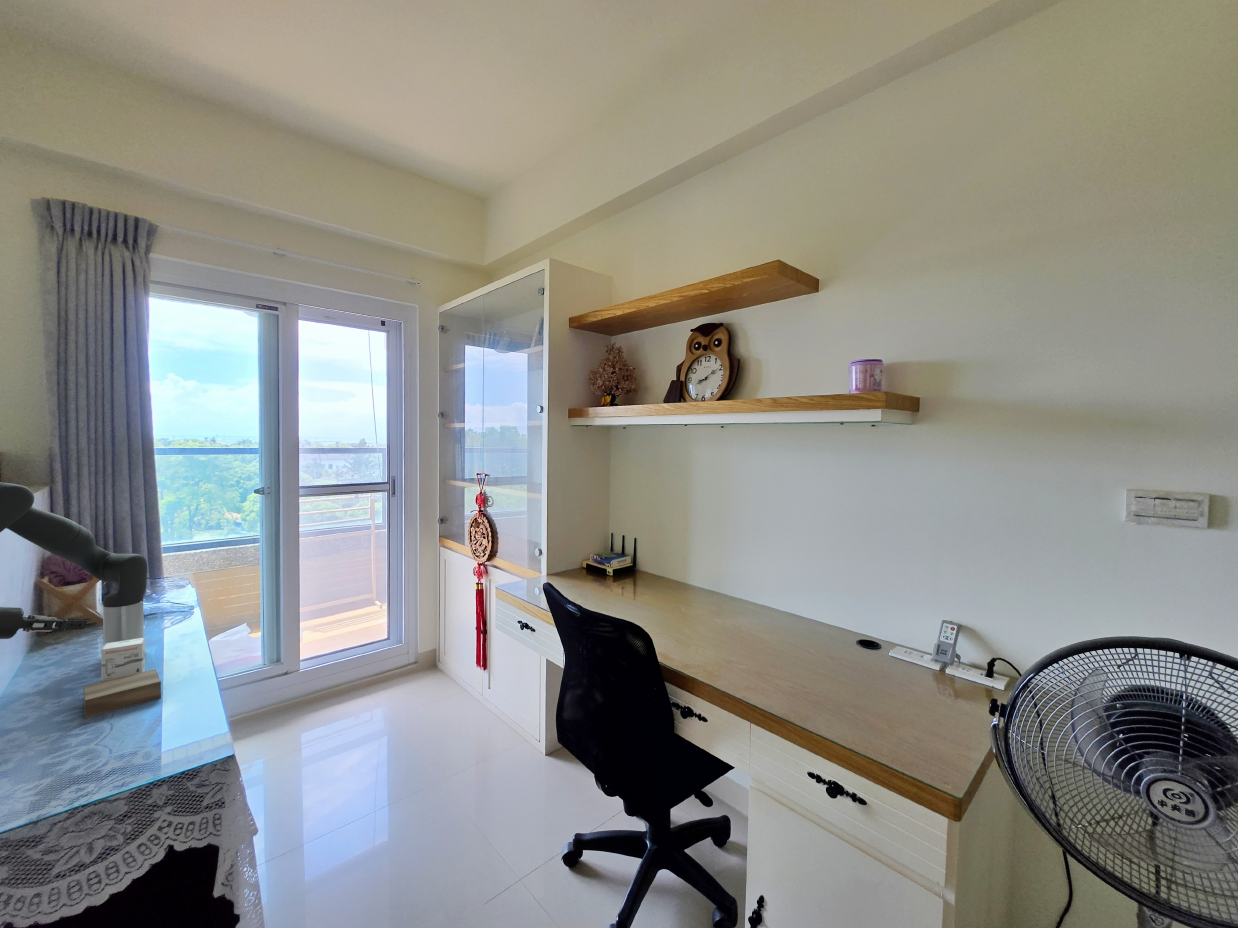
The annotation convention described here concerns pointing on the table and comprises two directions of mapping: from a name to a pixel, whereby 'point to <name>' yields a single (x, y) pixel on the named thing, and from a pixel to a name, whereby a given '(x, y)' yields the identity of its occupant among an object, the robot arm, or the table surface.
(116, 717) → the table surface
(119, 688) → the walnut block
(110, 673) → the ink box
